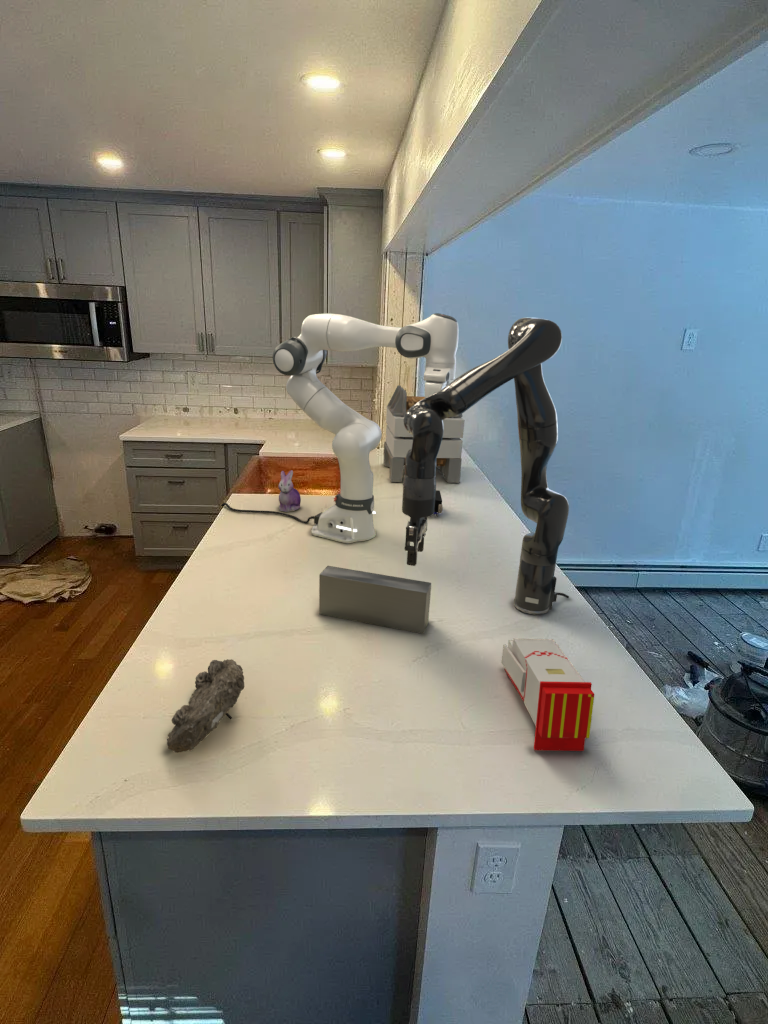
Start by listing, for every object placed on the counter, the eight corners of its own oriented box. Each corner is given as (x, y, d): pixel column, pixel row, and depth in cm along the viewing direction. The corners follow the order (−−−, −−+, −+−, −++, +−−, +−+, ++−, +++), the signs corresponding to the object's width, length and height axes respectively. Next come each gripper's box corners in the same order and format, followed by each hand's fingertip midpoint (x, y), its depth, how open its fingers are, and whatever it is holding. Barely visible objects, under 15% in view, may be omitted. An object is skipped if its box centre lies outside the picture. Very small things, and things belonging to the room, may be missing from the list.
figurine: (281, 513, 213) (281, 475, 208) (273, 505, 222) (272, 468, 217) (305, 510, 217) (305, 473, 212) (296, 502, 226) (296, 466, 221)
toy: (549, 621, 128) (604, 690, 99) (544, 676, 131) (595, 758, 101) (496, 620, 128) (535, 688, 98) (492, 675, 130) (528, 757, 101)
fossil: (192, 660, 117) (244, 628, 112) (224, 691, 120) (276, 661, 115) (142, 746, 98) (202, 712, 93) (182, 779, 101) (242, 748, 96)
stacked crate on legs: (382, 463, 289) (386, 382, 275) (445, 464, 293) (451, 384, 279) (390, 482, 257) (394, 392, 243) (460, 483, 261) (468, 394, 247)
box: (319, 614, 146) (319, 574, 142) (327, 603, 151) (327, 565, 147) (423, 634, 139) (426, 592, 135) (428, 622, 144) (431, 582, 140)
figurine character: (442, 522, 216) (438, 505, 229) (444, 504, 213) (440, 488, 226) (425, 521, 216) (422, 504, 229) (426, 504, 212) (423, 487, 226)
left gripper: (435, 368, 177) (431, 412, 181) (422, 374, 158) (418, 424, 163) (455, 370, 175) (451, 414, 180) (444, 376, 156) (440, 426, 161)
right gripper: (429, 505, 123) (425, 572, 129) (440, 486, 136) (435, 548, 142) (395, 501, 125) (393, 567, 131) (409, 483, 138) (406, 544, 144)
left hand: (435, 419), depth 171 cm, fingers open, 8 cm apart
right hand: (415, 557), depth 136 cm, fingers open, 8 cm apart
